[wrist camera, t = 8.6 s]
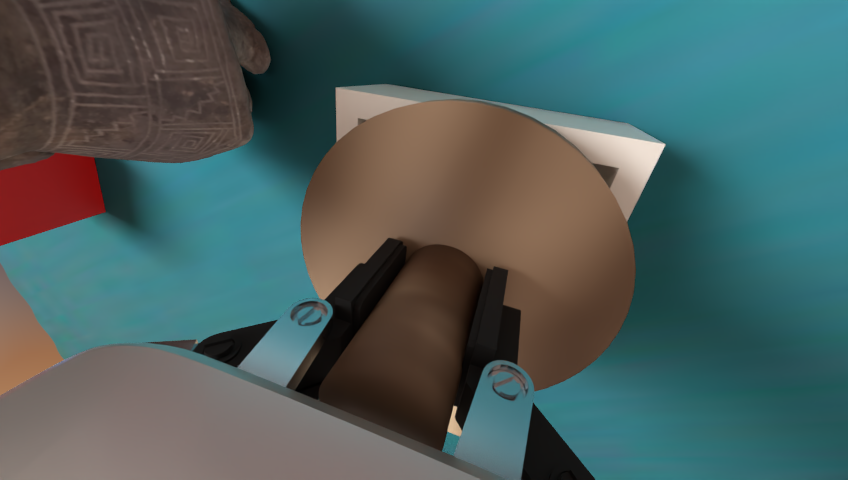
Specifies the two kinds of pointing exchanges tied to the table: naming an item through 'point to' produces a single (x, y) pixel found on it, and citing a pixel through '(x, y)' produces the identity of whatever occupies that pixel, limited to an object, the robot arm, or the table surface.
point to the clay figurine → (125, 79)
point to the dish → (596, 138)
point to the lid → (463, 253)
